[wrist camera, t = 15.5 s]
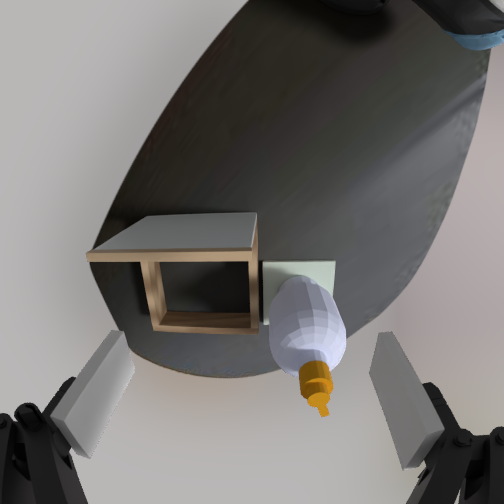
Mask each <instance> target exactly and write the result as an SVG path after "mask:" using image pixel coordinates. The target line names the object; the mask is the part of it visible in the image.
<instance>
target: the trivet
mask: <svg viewBox="0 0 504 504" xmlns="http://www.w3.org/2000/svg"><path fill="white" fill-rule="evenodd" d="M334 274H335V260H270V261H263V308H264V325H269V311H270V307H271V303H272V300H273V299H274V298H275V297H276V296H277V294H278V291H279V288H280V287H281V286H282V284H283V283H284V282H285V281H287V280H288V279H290V278H292V277H297V276H304V277H309V278H311V279H312V280H314V281H315V282H317V284H318V285H320V286H321V287H323V288H324V289H326V290H327V291H329V293H330V295H331V296H332V297H333V286H334Z"/></svg>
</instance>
